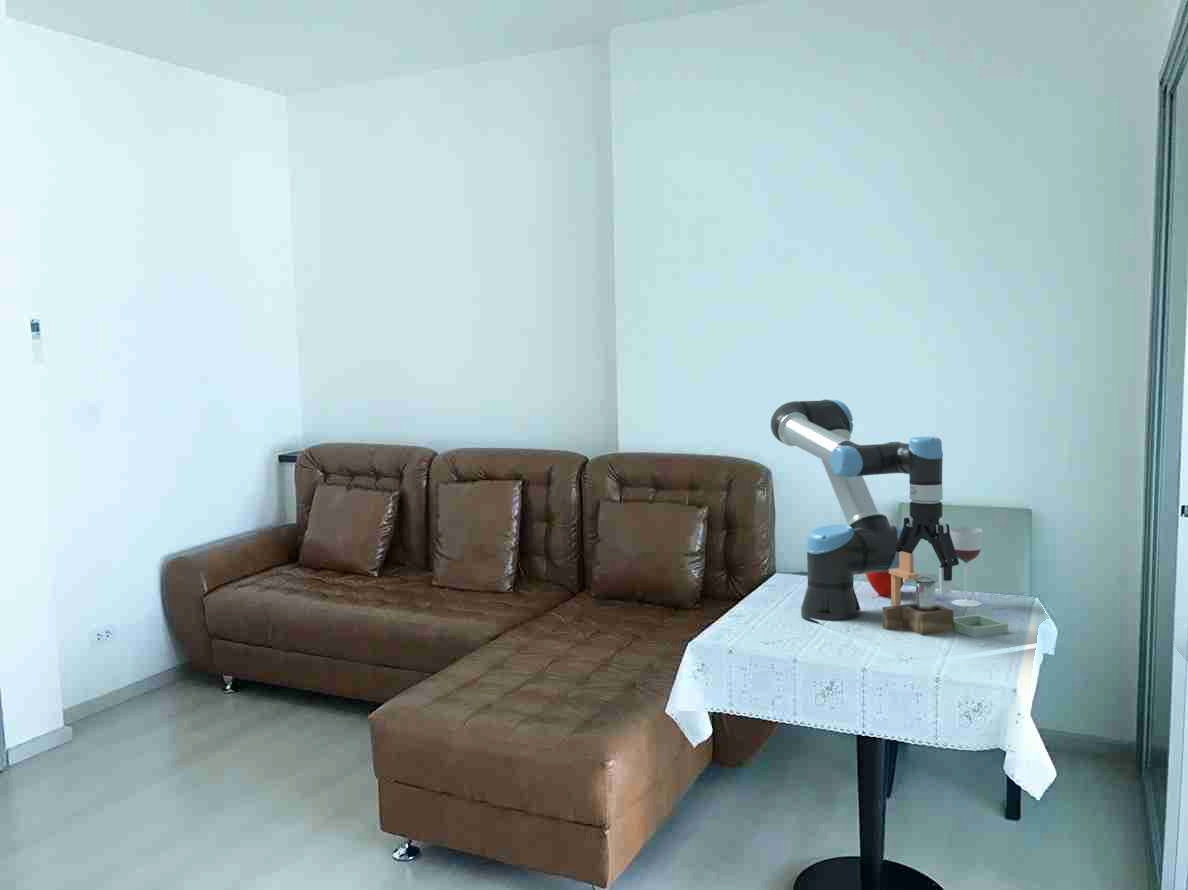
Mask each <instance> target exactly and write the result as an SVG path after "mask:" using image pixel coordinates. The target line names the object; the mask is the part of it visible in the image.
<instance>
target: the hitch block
mask: <svg viewBox="0 0 1188 890" xmlns="http://www.w3.org/2000/svg"><path fill="white" fill-rule="evenodd" d="M953 618H954V609H950V608H947V607H944V606H941V605H939V604H937V603H935V611H929V612H922V611H919V610H916V602H912V603H904V604H901V606H896V607H895V606H892V605H890V606H884V607H882V629H884V630H886V631H890V630H891V631H892V630H897V629H905V630H907V631H910V632H913V633H914V634H918V635H920V636H928V635H934V634H940V633H941V634H942V633H948V632H949V633H950V632H954V630H953Z"/></svg>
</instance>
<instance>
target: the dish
mask: <svg viewBox="0 0 1188 890" xmlns="http://www.w3.org/2000/svg"><path fill="white" fill-rule="evenodd" d="M971 625H980V626H976V627H975V626H971ZM953 631H955V632H957V633H960V634H963V635H965V636H969V637H971V638H973V639H974V638H975V639H976V638H980V637H987V636H993V635H994V636H995V635H1001V634H1007V633H1009V624H1008V623H1005V622H1004V621H1000V620H997V619H994V618H991V617H988V616H986V615H982V614H979V613H976V614H971V615H970V614H969V615H963V616H956V617H955V616H953Z"/></svg>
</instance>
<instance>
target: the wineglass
mask: <svg viewBox="0 0 1188 890" xmlns="http://www.w3.org/2000/svg"><path fill="white" fill-rule="evenodd" d="M983 532H984V531H983V529H982V528H977V527H969V526H968V527H966V526H965V527H964V526H961V527H960V526H959V527H952V528H950V536H951V539H952V542H953V545H954V548H955V552H956V555H957V558H958V560H961V561H963V562H964V599H963V598H962V599H953V600H951V604H953V605H956V606H961V607H978V606H981V605H982V603H981V602H980V601H977V600H972V599H969V598H968V595H969V593H968V591H969V587H968V586H969V578H968V577H969V572H968V571H969V568H968V567H969V566H968V565H969V562H971V561H972V560H974V559H975V558H977V557H978V556H979V554H980V552H981V549H982V546H983V545H982V544H983Z"/></svg>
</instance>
